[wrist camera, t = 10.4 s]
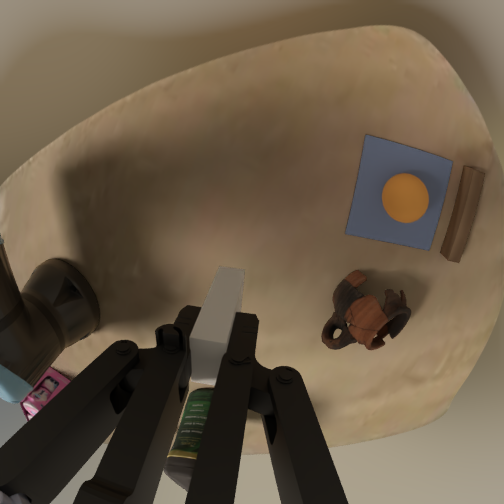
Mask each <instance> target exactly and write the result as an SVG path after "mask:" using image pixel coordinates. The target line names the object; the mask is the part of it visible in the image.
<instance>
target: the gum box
mask: <svg viewBox="0 0 504 504" xmlns="http://www.w3.org/2000/svg"><path fill="white" fill-rule="evenodd" d="M70 382H71V381H70V380H68V379H67V378H65V377H64V376H63V375H61V374H60V373H58V372H57V371H55V370H54V369H52V368H51V367H49V368H48V370H47V371H46V372H45V373H44V375H43V376H42V377H41V379H40V380H39V381H38V382H37V384H36V385H35V386H34V389H33V390H32V391H30V392H29V393H28V394H27V395H26V396H25V398H24V399H23V400H22V401H21V402H20V405H21V408H22V410H23V413H24V415H25V417H26V419H27V421H29V420H30V419H31V418H32V417H33V416H34V415H35V414H36V413H37V412H38V411H40V410H41V409H42V408H43V407H44V406H45V405H46V404H47V403H48V402H49V401H50V400H51V399H52V398H53V397H55V396H56V395H57V394H58V393H59V392H60V391H61V390H62V389H63V388H64V387H65V386H66V385H68V384H69V383H70Z"/></svg>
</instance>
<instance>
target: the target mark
mask: <svg viewBox="0 0 504 504" xmlns="http://www.w3.org/2000/svg"><path fill="white" fill-rule="evenodd" d="M452 163H453V161H450V160H448V159H445V158H442V157H439V156H436V155H433V154H430V153H427V152H424V151H421V150H418V149H415V148H412V147H409V146H405V145H402V144H399V143H395V142H392V141H388V140H384V139H381V138H377V137H373V136H369V135H365V140H364V146H363V151H362V157H361V162H360V167H359V173H358V178H357V182H356V187H355V192H354V197H353V201H352V206H351V210H350V215H349V219H348V223H347V227H346V231H345V234H348V235H353V236H359V237H364V238H369V239H374V240H379V241H384V242H389V243H394V244H399V245H404V246H409V247H414V248H418V249H423V250H428V251H429V250H430V246H431V243H432V240H433V237H434V234H435V231H436V227H437V224H438V221H439V217H440V213H441V210H442V206H443V202H444V198H445V194H446V190H447V186H448V182H449V177H450V173H451V168H452ZM401 173H408V174H412V175H414V176H416V177H418V178H419V179H420V180H421V181H422V182H423V183H424V185H425V186H426V188H427V191H428V195H429V204H428V208H427V210H426V212H425V213H424V215H423V216H422V217H421V218H420V219H418V220H417V221H414V222H411V223H402V222H398V221H396V220H394V219H393V218H392V217H390V216H389V215H388V213H387V212H386V210H385V208H384V206H383V202H382V192H383V188H384V186H385V184H386V182H387V181H388V180H389V179H390V178H391V177H393V176H395V175H397V174H401Z"/></svg>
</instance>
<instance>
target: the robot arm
mask: <svg viewBox="0 0 504 504" xmlns="http://www.w3.org/2000/svg"><path fill="white" fill-rule="evenodd" d="M3 243H4V240H3V239H2V238H1V235H0V398H2V399H3V400H5V401H7V402H10V403H14V404H16V403H19V402H21V401H22V400H23V399H24V398H25V396H26V395H27V394H28V393H29V392H30V391H32V390H33V389H34V386H35V385H36V384H37V382H38V381H39V380H40V379H41V377H42V376H43V375H44V373H45V372H46V371H47V370H48V368H49V367H50V366H51V365H52V363H53V362H54V361H55V360H56V358H57V357H58V356H59V355H60V354H61V352H62V351H63V350H64V349H65V348H67V347H69V346H71V345H73V344H74V343H76V342H78V341H79V340H82V339H85V338H86V337H88V336H89V335H90V334H91V333H92V332H93V331H94V329H95V328H96V327H97V325H98V323H99V319H100V311H99V305H98V302H97V299H96V297H95V294H94V292H93V290H92V289H91V287H90V285H89V284H88V282H87V281H86V280H85V278H84V277H83V276H82V275H81V274H80V273H79V272H78V271H77V270H76V269H75V268H73V267H72V266H71V265H69V264H68V263H66V262H64V261H61V260H58V259H49V260H46V261H45V262H43V263H42V264H40V265H39V266H38V267H37V268H36V269H35V270H34V271H33V273H32V275H31V277H30V279H29V280H28V282H27V283H26V285H25V286H24V288H23V290H22V291H21V292H20V291H19V289H18V286H17V284H16V281H15V278H14V275H13V273H12V270H11V267H10V264H9V261H8V257H7V254H6V251H5V248H4V244H3ZM244 273H245V269H237V268H230V267H222V266H219V268H218V271H217V273H216V275H215V278H214V280H213V282H212V285H211V287H210V289H209V292H208V294H207V296H206V299H205V301H204V304H203V306H202V307H196V306H190V305H187V306H186V307H184V308H183V309H181V311H180V312H179V314H178V317H177V318H176V320H175V322H174V324H166V325H162V326H160V327H158V328H157V329H156V330H155V334H156V342H157V346H156V347H155V348H148V349H138V346H137V344H136V343H134V342H133V341H130V340H120V341H116V342H115V343H113V344H112V345H111V346H109V347H108V348H107V349H106V350H105V351H104V352H103V353H102V354H101V355H99V356H98V357H97V358H96V359H95V360H94V361H93V362H92V363H91V364H89V365H88V366H87V367H86V368H85V369H84V370H83V371H82V372H81V373H80V374H78V375H77V376H76V377H75V378H74V379H73V380H72V381H71V382H70V383H69V384H68V385H66V386H65V387H64V388H63V389H62V390H61V391H60V392H59V393H58V394H57V395H56V396H55V397H53V398H52V399H51V400H50V401H49V402H48V403H47V404H46V405H45V406H44V407H43V408H42V409H41V410H40V411H38V412H37V413H36V414H35V415H34V416H33V417H32V418H31V419H30V420H29V421H28V422H27V423H26V424H25V425H24V426H23V427H22V428H21V429H19V431H17V432H16V433H15V434H14V435H13V436H12V437H11V438H10V439H9V440H8V441H7V442H6V443H5V444H4V445H3V446H2V447H1V448H0V504H50V503H51V501H52V500H53V499H54V498H55V497H56V496H57V495H58V494H59V493H60V492H61V491H62V489H63V488H64V487H65V486H66V485H67V484H68V482H70V480H71V479H72V478H73V477H74V476H75V475H76V473H77V472H78V471H79V470H80V469H81V468H82V466H83V465H84V464H85V463H86V462H87V461H88V459H89V458H90V457H91V456H92V455H93V454H94V453H95V451H96V450H97V449H98V448H99V447H100V446H101V444H102V443H103V442H104V441H105V440H106V439H107V437H108V436H109V435H110V434H111V433H112V432H113V430H114V429H115V428H116V429H115V431H114V433H113V436H112V438H111V440H110V442H109V444H108V446H107V449H106V451H105V453H104V455H103V457H102V459H101V462H100V464H99V466H98V468H97V471H96V473H95V475H94V477H93V478H92V479H91V480H88V481H85V482H84V483H83V484H82V485H81V487H80V489H79V491H78V493H77V495H76V498H75V500H74V502H73V504H153V501H154V498H155V494H156V491H157V488H158V484H159V481H160V478H161V475H162V471H163V469H164V466H165V462H166V459H167V456H168V453H169V450H170V447H171V443H172V440H173V437H174V434H175V431H176V428H177V425H178V422H179V418H180V415H181V412H182V409H183V406H184V403H185V400H186V397H187V394H188V391H189V379H190V377H191V381H192V382H197V383H203V384H208V385H214V386H215V387H214V391H213V395H212V399H211V403H210V407H209V411H208V415H207V419H206V422H205V426H204V430H203V434H202V438H201V442H200V446H199V450H198V454H197V458H196V462H195V466H194V470H193V474H192V478H191V481H190V485H189V489H188V493H187V497H186V501H185V504H234V498H235V492H236V485H237V478H238V472H239V465H240V459H241V452H242V445H243V438H244V431H245V424H246V417H247V410H248V409H250V410H253V411H255V412H258V413H260V414H261V417H262V421H263V426H264V430H265V435H266V439H267V444H268V448H269V453H270V457H271V462H272V466H273V470H274V475H275V479H276V483H277V487H278V492H279V496H280V500H281V504H348V501H347V498H346V496H345V493H344V490H343V487H342V485H341V482H340V479H339V476H338V474H337V471H336V468H335V466H334V463H333V460H332V458H331V455H330V452H329V449H328V447H327V444H326V441H325V438H324V436H323V433H322V430H321V428H320V425H319V422H318V420H317V417H316V414H315V411H314V409H313V406H312V403H311V401H310V398H309V395H308V393H307V390H306V387H305V384H304V382H303V379H302V376H301V375H300V373H299V372H298V371H297V370H295V369H294V368H291V367H288V366H280V367H276V368H274V369H272V370H271V369H268V368H266V367H263V366H262V365H260V364H259V363H258V362H257V360H256V358H255V349H256V341H257V333H258V325H259V320H258V318H257V316H256V314H249V313H241V312H240V311H241V305H242V294H243V284H244Z"/></svg>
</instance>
